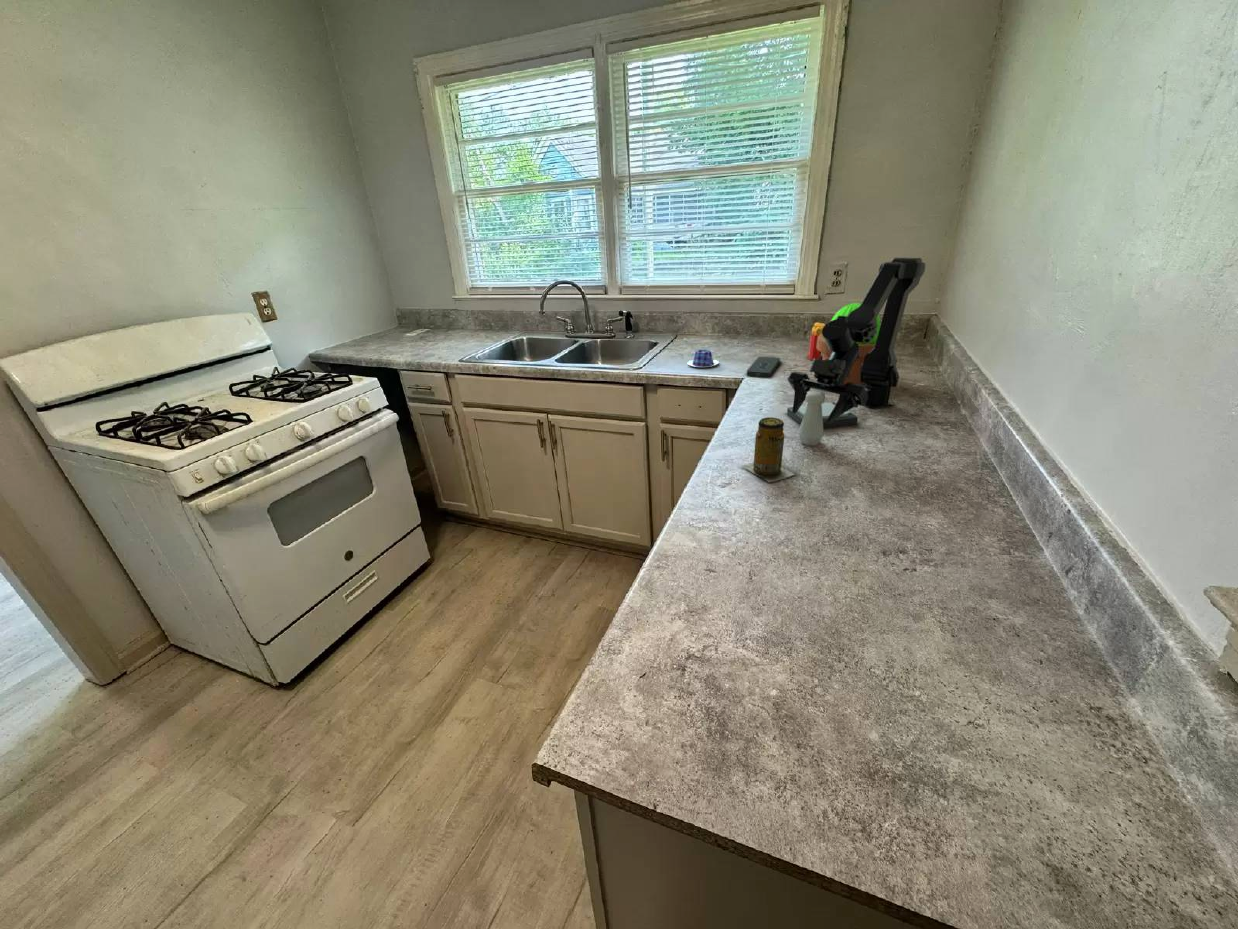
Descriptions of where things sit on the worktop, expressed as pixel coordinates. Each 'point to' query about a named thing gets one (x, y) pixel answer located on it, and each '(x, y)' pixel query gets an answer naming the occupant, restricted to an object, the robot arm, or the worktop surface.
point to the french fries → (815, 341)
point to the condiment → (769, 451)
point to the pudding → (703, 359)
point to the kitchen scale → (825, 416)
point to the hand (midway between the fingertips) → (810, 417)
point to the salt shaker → (812, 419)
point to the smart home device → (763, 366)
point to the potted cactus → (864, 347)
